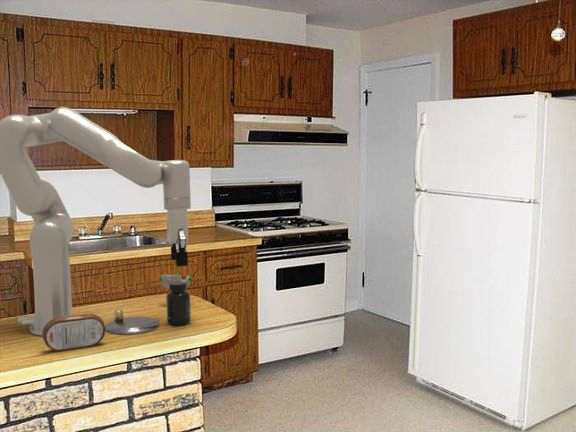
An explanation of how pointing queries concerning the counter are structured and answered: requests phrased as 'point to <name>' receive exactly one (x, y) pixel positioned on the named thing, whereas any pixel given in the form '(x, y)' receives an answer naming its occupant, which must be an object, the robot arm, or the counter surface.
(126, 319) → the plate
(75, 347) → the tin
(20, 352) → the counter surface
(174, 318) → the supplement bottle
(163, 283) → the mechanical component
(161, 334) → the counter surface
